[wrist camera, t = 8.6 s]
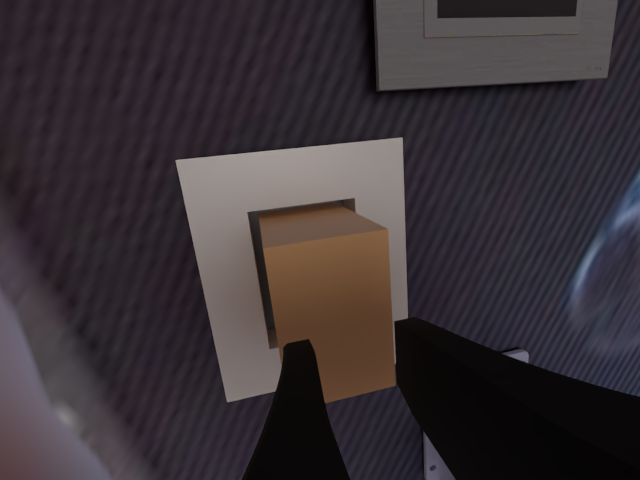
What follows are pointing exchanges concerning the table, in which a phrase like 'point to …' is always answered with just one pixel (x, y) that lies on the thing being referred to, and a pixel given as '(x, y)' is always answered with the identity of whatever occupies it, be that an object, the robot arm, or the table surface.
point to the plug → (332, 293)
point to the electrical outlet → (490, 42)
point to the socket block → (246, 243)
